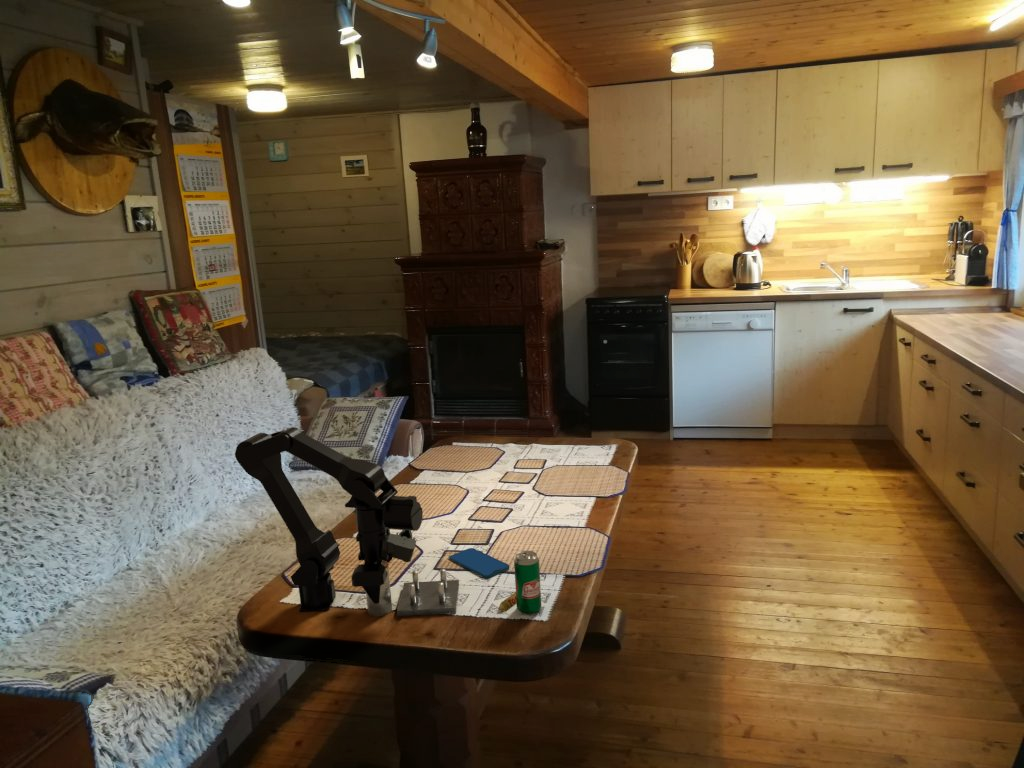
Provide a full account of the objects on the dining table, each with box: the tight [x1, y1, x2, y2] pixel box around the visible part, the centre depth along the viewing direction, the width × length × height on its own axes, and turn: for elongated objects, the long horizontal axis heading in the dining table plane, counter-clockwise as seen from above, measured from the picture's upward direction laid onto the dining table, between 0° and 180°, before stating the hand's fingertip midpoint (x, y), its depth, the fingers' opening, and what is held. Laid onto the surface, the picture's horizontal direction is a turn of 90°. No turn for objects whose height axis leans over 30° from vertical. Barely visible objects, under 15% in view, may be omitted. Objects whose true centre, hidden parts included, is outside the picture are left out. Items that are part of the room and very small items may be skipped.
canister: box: [365, 561, 393, 617], centre depth 158 cm, size 5×5×10 cm
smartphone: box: [448, 547, 510, 579], centre depth 177 cm, size 7×1×15 cm
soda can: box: [513, 550, 542, 615], centre depth 154 cm, size 5×5×12 cm
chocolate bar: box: [497, 591, 517, 613], centre depth 161 cm, size 3×12×2 cm, turn 144°
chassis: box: [396, 568, 460, 617], centre depth 161 cm, size 12×12×5 cm
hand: (378, 596), depth 158 cm, fingers closed on canister, 5 cm apart
